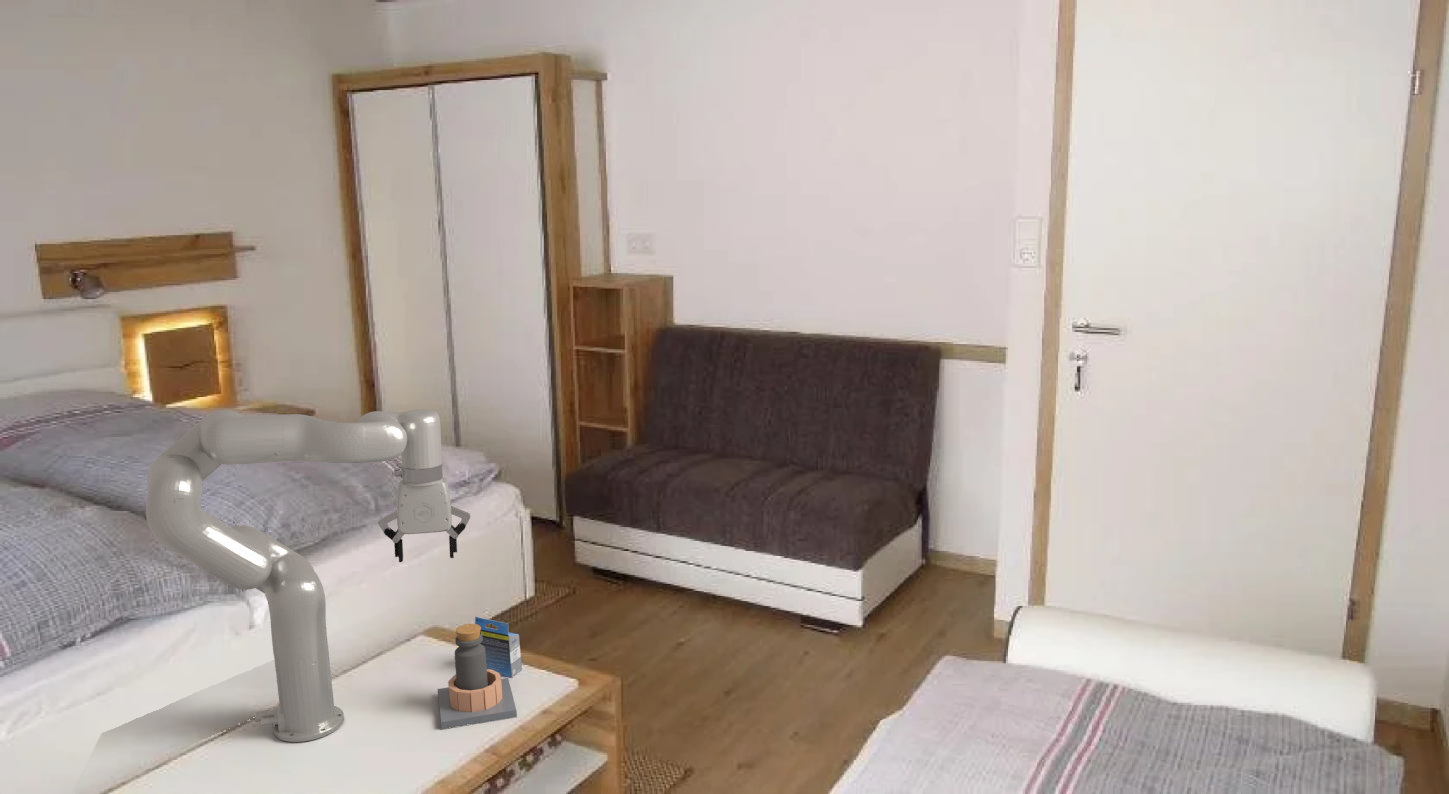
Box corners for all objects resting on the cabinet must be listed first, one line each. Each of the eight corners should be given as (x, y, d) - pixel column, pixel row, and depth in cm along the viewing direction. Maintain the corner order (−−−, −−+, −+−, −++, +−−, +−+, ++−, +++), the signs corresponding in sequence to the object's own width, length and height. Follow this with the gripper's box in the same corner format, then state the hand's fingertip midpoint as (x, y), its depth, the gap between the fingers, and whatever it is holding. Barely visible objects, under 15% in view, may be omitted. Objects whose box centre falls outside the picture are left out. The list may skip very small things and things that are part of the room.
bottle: (492, 693, 209) (487, 622, 206) (482, 707, 203) (477, 635, 200) (464, 692, 209) (459, 621, 206) (453, 706, 204) (448, 634, 201)
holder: (441, 729, 198) (439, 702, 197) (438, 695, 211) (436, 670, 210) (516, 717, 202) (515, 690, 201) (508, 684, 215) (506, 659, 214)
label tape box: (522, 670, 222) (519, 616, 219) (511, 679, 218) (507, 623, 215) (488, 663, 225) (485, 609, 223) (476, 671, 222) (473, 616, 219)
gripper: (374, 481, 197) (379, 568, 200) (469, 476, 202) (472, 560, 205) (376, 471, 204) (381, 555, 208) (468, 466, 209) (471, 548, 212)
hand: (426, 558), depth 206 cm, fingers open, 9 cm apart
